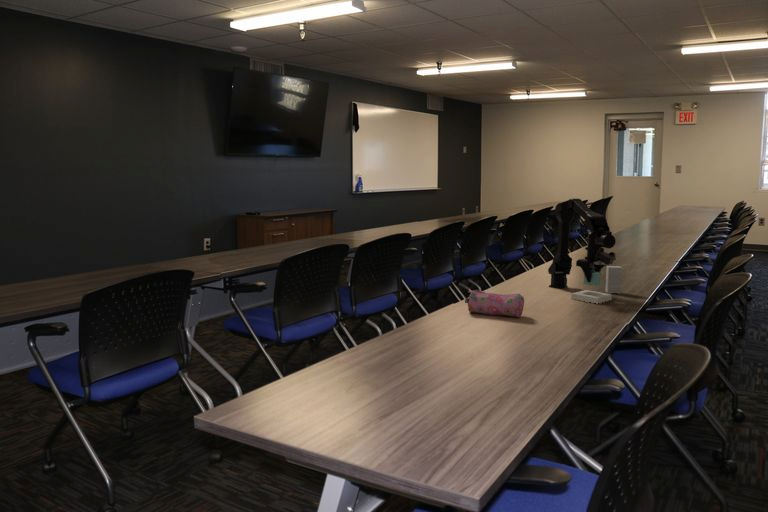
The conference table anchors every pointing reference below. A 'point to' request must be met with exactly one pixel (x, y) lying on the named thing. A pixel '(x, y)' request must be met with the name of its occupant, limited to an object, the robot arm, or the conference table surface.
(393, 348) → the conference table surface
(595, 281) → the plug
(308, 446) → the conference table surface
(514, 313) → the pencil case
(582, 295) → the socket plate
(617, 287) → the skincare box
